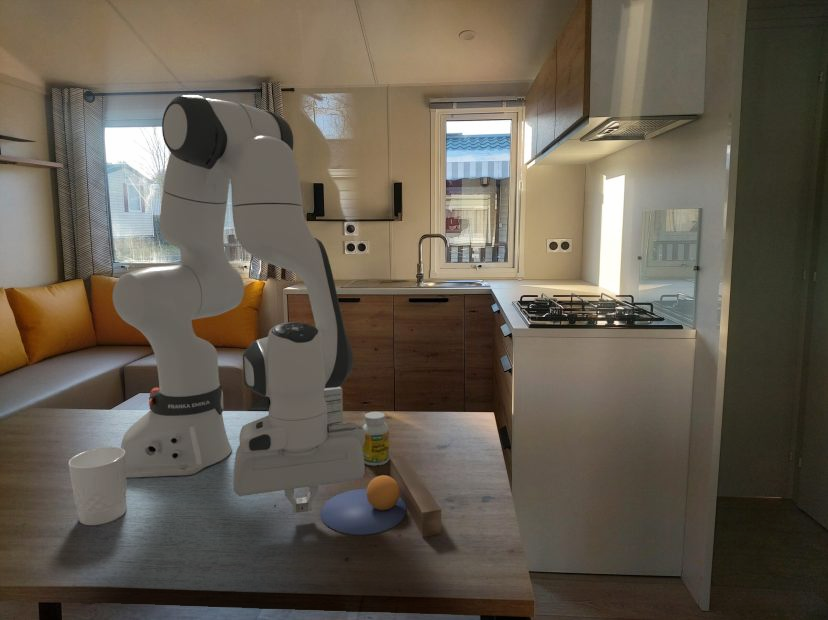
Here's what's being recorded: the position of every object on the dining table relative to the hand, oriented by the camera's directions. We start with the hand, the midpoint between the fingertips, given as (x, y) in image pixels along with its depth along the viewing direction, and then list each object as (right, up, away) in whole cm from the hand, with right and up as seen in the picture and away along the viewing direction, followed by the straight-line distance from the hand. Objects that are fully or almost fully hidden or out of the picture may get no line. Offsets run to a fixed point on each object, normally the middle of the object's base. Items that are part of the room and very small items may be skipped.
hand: (301, 510), depth 85 cm
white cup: (-33, -2, +2) cm, 33 cm away
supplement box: (-2, +3, +32) cm, 32 cm away
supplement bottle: (+10, +2, +22) cm, 24 cm away
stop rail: (+18, -1, +5) cm, 19 cm away
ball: (+13, +2, +3) cm, 13 cm away
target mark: (+10, -1, +3) cm, 10 cm away
